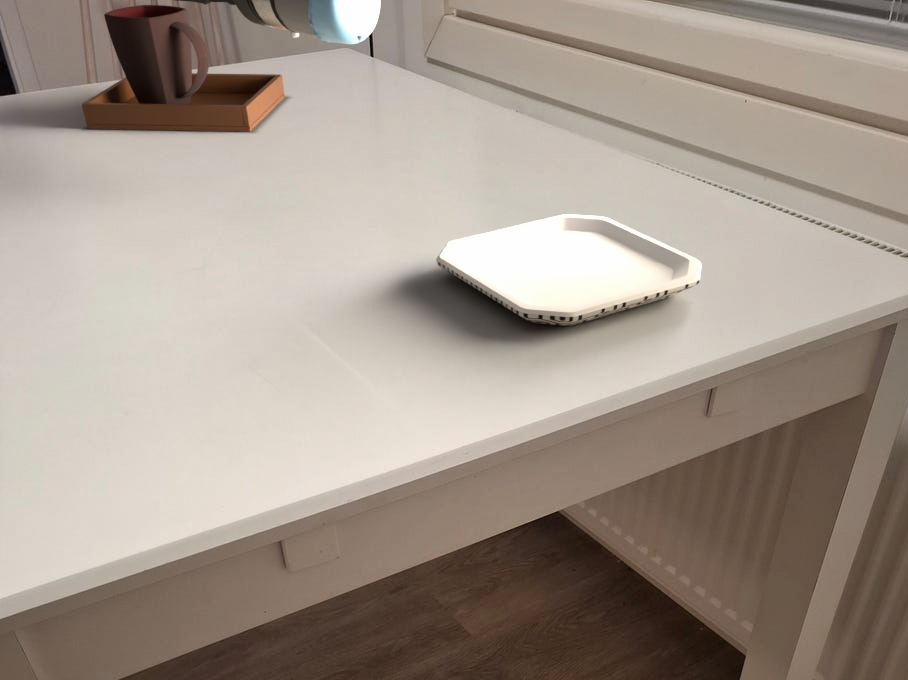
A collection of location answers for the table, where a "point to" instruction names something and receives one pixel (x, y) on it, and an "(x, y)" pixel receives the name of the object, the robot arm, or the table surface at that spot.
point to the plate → (570, 268)
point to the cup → (158, 52)
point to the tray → (190, 105)
